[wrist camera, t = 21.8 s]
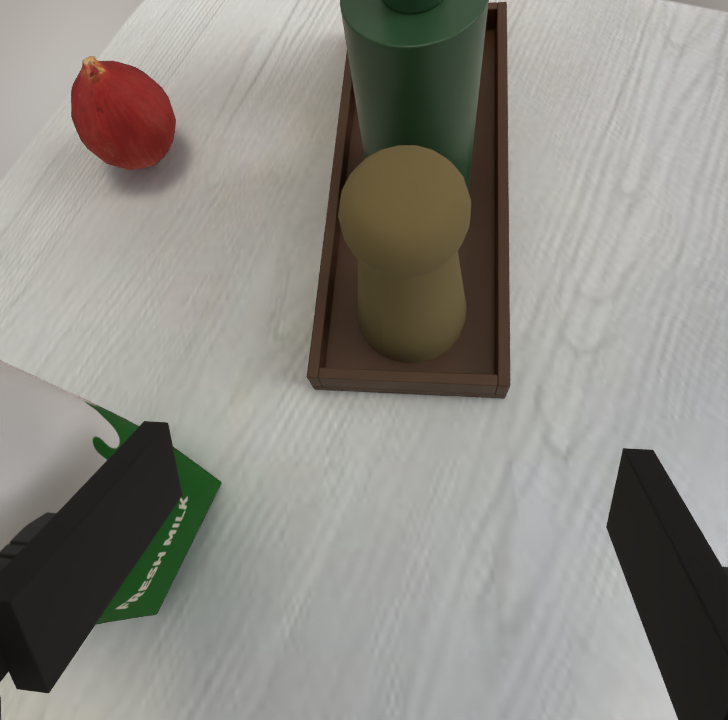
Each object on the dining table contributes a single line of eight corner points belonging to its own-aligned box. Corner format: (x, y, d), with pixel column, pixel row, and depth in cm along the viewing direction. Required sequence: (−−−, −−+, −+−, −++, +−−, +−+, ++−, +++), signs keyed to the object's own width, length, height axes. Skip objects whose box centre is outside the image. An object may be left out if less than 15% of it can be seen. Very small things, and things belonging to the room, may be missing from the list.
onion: (97, 184, 37) (12, 88, 29) (138, 118, 38) (67, 11, 31) (170, 204, 35) (100, 109, 28) (209, 136, 37) (153, 29, 30)
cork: (417, 245, 32) (411, 93, 21) (490, 315, 30) (522, 185, 19) (335, 308, 31) (288, 182, 21) (405, 385, 29) (391, 288, 18)
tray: (502, 30, 37) (506, 1, 35) (505, 398, 29) (510, 386, 27) (355, 36, 39) (351, 8, 37) (314, 389, 30) (306, 377, 28)
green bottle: (469, 143, 34) (506, -228, 18) (468, 226, 32) (507, -109, 16) (373, 144, 34) (326, -210, 19) (365, 226, 32) (305, -94, 17)
